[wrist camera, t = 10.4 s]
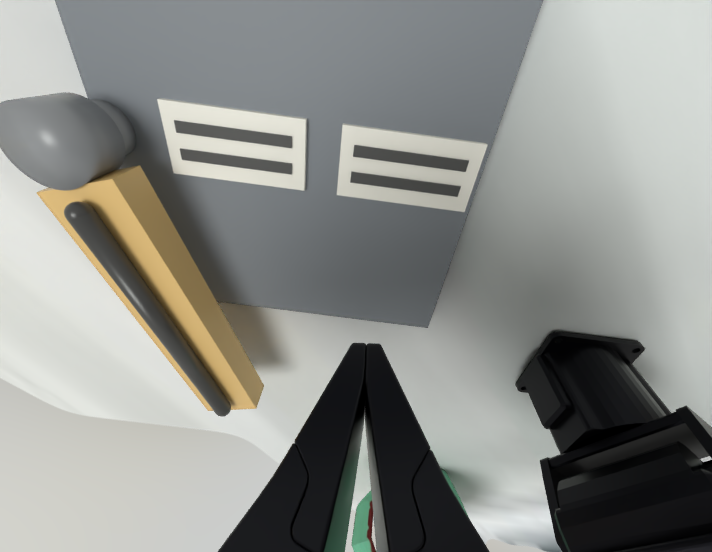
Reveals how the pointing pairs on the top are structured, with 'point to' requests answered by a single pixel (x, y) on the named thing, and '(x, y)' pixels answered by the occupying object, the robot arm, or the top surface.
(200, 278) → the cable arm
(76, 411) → the top surface
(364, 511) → the mug
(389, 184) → the panel
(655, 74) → the top surface
